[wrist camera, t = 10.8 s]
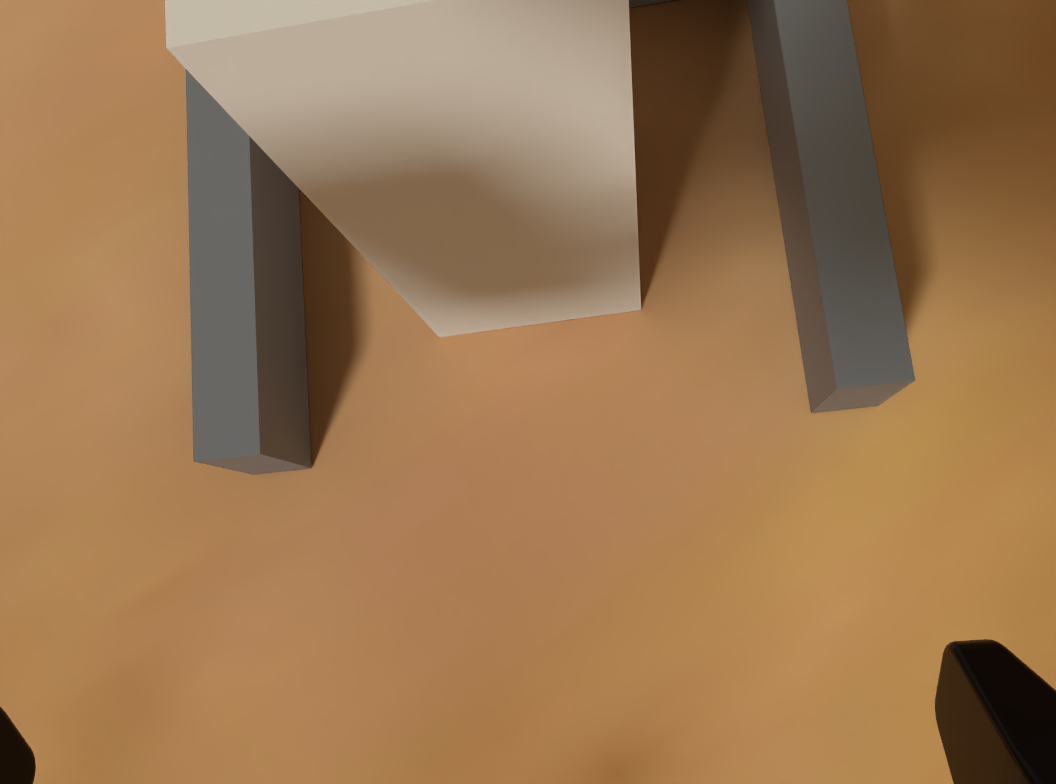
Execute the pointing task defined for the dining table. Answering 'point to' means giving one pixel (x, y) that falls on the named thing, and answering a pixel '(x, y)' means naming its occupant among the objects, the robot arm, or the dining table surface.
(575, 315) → the post
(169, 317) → the dining table surface
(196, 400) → the frame
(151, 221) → the dining table surface
